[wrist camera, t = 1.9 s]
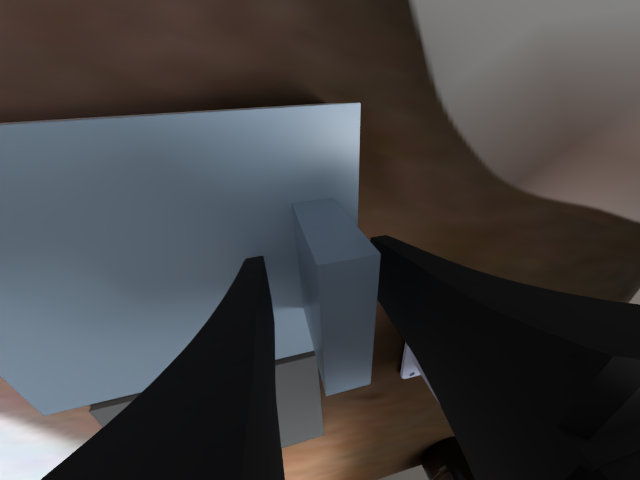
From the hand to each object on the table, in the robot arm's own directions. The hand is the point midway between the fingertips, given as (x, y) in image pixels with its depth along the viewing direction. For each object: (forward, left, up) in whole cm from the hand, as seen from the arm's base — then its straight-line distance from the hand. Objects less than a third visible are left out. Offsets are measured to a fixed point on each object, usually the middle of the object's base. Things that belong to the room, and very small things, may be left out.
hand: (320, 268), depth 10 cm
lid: (+5, 0, -1) cm, 5 cm away
